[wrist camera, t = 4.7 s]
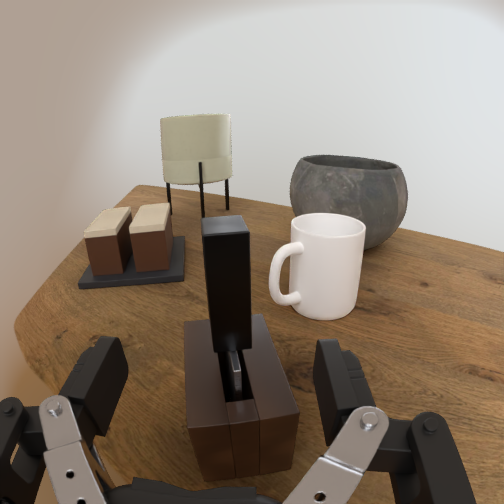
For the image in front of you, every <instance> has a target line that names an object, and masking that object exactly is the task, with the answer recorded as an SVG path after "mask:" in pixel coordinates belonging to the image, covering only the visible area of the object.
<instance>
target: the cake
mask: <svg viewBox="0 0 504 504" xmlns="http://www.w3.org/2000/svg"><path fill="white" fill-rule="evenodd" d="M84 237H85V242H86V247H87V252H88V256H89V261H90V264H89V266H88V267H87V269H86V271H85V272H84V274H83V275H82V277H81V279H80V280H79V282H78V286H79V289H88V288H102V287H115V286H128V285H141V284H154V283H166V282H177V281H184V254H185V236H178V237H173V233H172V224H171V214H170V203H160V204H150V205H141V207H140V209H139V211H138V212H137V214H136V216H135V217H134V219H133V221H132V216H131V208H130V207H122V208H113V209H105V210H103V211H102V213H101V214H99V216H98V217H97V218H96V219H95V220H94V221H93V222H92V223H91V224H90V226H89V227H88V228H87V229H86V230H85V231H84Z"/></svg>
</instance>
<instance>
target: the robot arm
mask: <svg viewBox="0 0 504 504" xmlns="http://www.w3.org/2000/svg"><path fill="white" fill-rule="evenodd" d="M127 378H128V364H127V361H126V358H125V354H124V351H123V348H122V345H121V342H120V339H119V338H118V337H107V336H101V337H100V338H99V339H98V341H97V343H96V344H95V346H94V347H89V348H88V349H87V350H86V351H85V352H83V353H82V354H81V356H80V358H79V359H78V361H77V364H75V366H74V368H73V371H71V373H70V375H69V376H68V378H67V380H66V382H65V384H64V385H63V387H62V389H61V391H60V393H59V394H58V395H54V396H50V397H48V398H46V399H45V400H44V401H43V402H42V403H41V405H40V406H32V407H24V406H23V404H22V403H21V401H20V400H19V399H17V398H15V397H9V398H6V399H4V400H2V401H1V402H0V504H34V502H35V499H36V496H37V492H38V489H39V486H40V483H41V480H42V477H43V474H44V471H45V468H46V467H47V470H48V474H49V476H50V480H51V483H52V486H53V489H54V492H55V495H56V498H57V501H58V504H346V503H347V501H348V500H349V498H350V497H351V495H352V493H353V492H354V490H355V488H356V487H357V485H358V483H359V482H360V480H361V478H362V477H363V475H364V473H365V471H366V470H367V471H378V472H389V475H390V479H391V484H392V488H393V493H394V498H395V503H396V504H476V501H475V498H474V495H473V491H472V488H471V486H470V483H469V480H468V477H467V474H466V471H465V468H464V466H463V463H462V460H461V458H460V455H459V452H458V450H457V447H456V445H455V442H454V440H453V437H452V435H451V432H450V430H449V427H448V425H447V423H446V421H445V419H444V418H443V417H442V416H440V415H439V414H437V413H434V412H423V413H420V414H418V415H417V416H416V417H415V418H414V419H413V421H409V420H397V419H392V418H389V417H387V415H386V414H385V413H384V412H383V411H382V410H380V409H378V408H377V407H376V405H375V402H374V400H373V397H372V394H371V391H370V389H369V386H368V383H367V381H366V378H365V375H364V373H363V370H362V367H361V365H360V362H359V360H358V358H357V357H356V356H355V355H354V354H353V353H352V352H351V351H350V350H347V351H341V349H340V346H339V343H338V340H337V339H321V340H318V341H317V345H316V353H315V360H314V367H313V379H314V385H315V390H316V395H317V400H318V405H319V410H320V415H321V420H322V425H323V430H324V435H325V441H326V446H330V447H329V448H328V450H327V451H326V453H325V454H324V455H321V456H320V457H319V458H318V459H317V460H316V461H315V463H314V464H313V465H312V467H311V468H310V469H309V471H308V472H307V473H306V475H305V476H304V477H303V479H302V480H301V481H300V482H299V484H298V485H297V486H296V488H295V489H294V490H293V491H292V492H291V494H290V495H289V496H288V497H287V499H286V500H285V501H284V502H283V503H281V502H280V501H278V500H275V499H273V498H271V497H267V496H264V495H260V494H256V487H220V488H213V489H207V490H200V491H188V490H185V489H182V488H179V487H176V486H173V485H171V484H168V483H165V482H162V481H156V480H149V479H143V478H137V477H133V481H132V484H128V485H122V486H118V487H116V486H115V485H114V483H113V481H112V480H111V478H110V476H109V474H108V472H107V470H106V468H105V466H104V464H103V461H102V459H101V457H100V455H99V452H98V450H97V448H96V445H95V443H94V441H93V439H94V437H95V435H99V436H104V437H105V436H106V433H107V430H108V427H109V425H110V422H111V419H112V417H113V414H114V411H115V409H116V406H117V403H118V401H119V398H120V396H121V393H122V391H123V388H124V386H125V383H126V381H127ZM16 444H18V445H19V448H18V450H17V452H16V455H15V458H14V460H13V462H12V465H11V464H10V459H11V456H12V453H13V451H14V449H15V446H16Z"/></svg>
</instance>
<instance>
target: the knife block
mask: <svg viewBox="0 0 504 504" xmlns="http://www.w3.org/2000/svg"><path fill="white" fill-rule="evenodd" d="M184 355H185V391H186V414H187V429H188V432H189V435H190V439H191V442H192V445H193V448H194V452H195V455H196V458H197V461H198V464H199V467H200V470H201V473H202V476H203V479H204V481H216V480H225V479H234V478H241V477H249V476H255V475H259V474H260V475H262V474H268V473H274V472H279V471H284V470H289V469H291V465H292V459H293V453H294V447H295V441H296V434H297V428H298V421H299V415H300V412H299V409H298V407H297V404H296V401H295V399H294V396H293V394H292V391H291V388H290V386H289V383H288V381H287V378H286V375H285V373H284V370H283V367H282V365H281V362H280V360H279V357H278V354H277V352H276V349H275V346H274V344H273V341H272V339H271V336H270V333H269V331H268V328H267V325H266V323H265V320H264V317H263V315H262V314H254V315H252V349H246V350H238V351H237V355H238V360H239V364H240V368H241V380H242V398H243V401H235V402H227V403H225V397H224V394H229V387H228V377H227V366H226V355H225V352H220V353H214V352H213V344H212V337H211V329H210V320H209V319H207V320H197V321H185V322H184Z"/></svg>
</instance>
